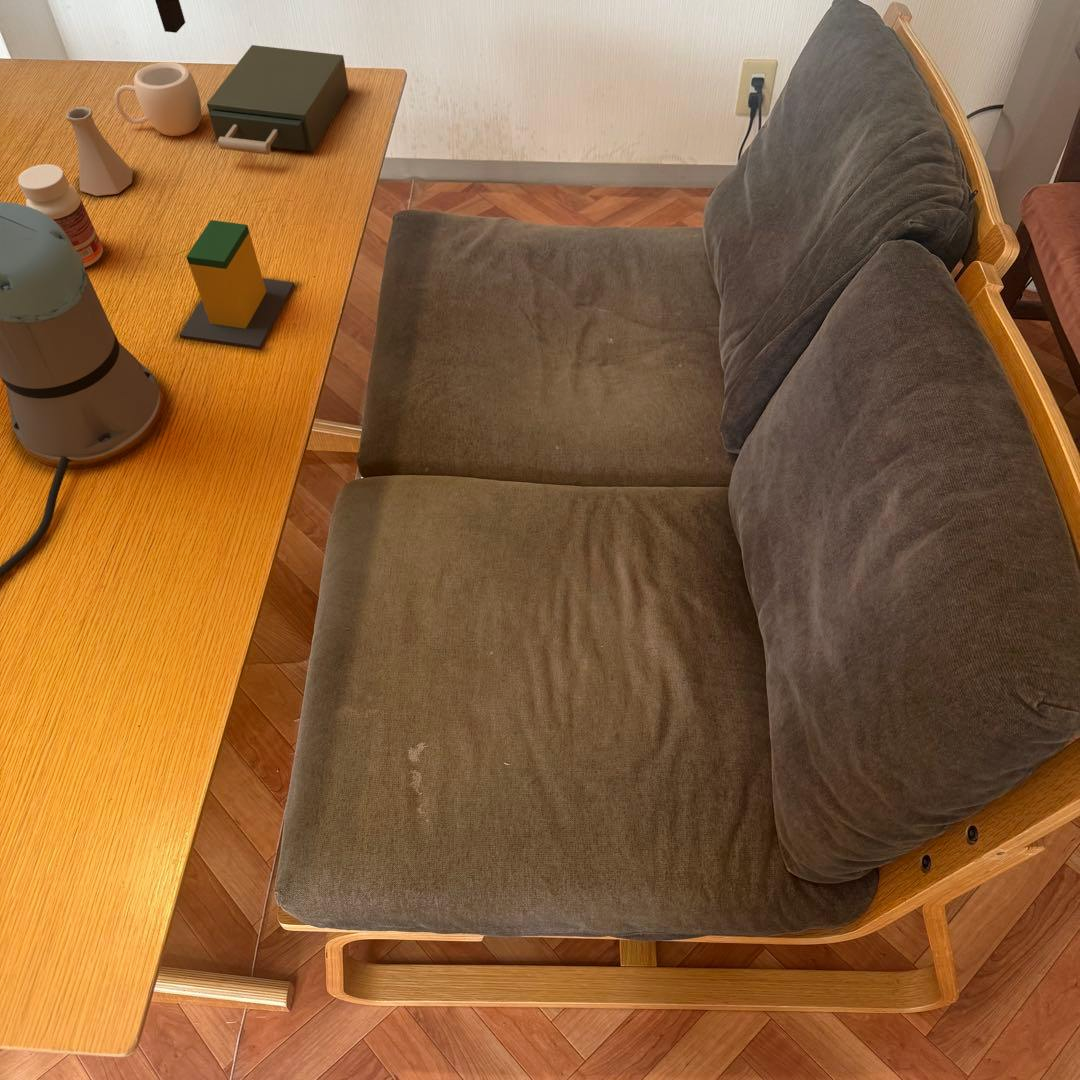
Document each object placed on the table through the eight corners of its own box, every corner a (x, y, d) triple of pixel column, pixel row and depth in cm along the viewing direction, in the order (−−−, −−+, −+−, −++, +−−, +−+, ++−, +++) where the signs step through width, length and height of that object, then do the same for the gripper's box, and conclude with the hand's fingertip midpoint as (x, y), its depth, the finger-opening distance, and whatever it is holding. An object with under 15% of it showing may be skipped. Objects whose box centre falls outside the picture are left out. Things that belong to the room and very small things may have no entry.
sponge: (245, 329, 107) (224, 261, 99) (210, 324, 107) (185, 256, 99) (266, 291, 111) (247, 224, 103) (232, 287, 111) (210, 219, 103)
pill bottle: (109, 241, 117) (74, 160, 108) (97, 271, 113) (59, 190, 104) (61, 241, 116) (22, 161, 107) (47, 271, 113) (6, 190, 104)
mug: (210, 110, 136) (194, 57, 130) (204, 141, 131) (188, 87, 125) (129, 114, 135) (109, 61, 128) (120, 145, 130) (100, 91, 124)
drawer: (292, 170, 125) (286, 145, 122) (201, 159, 127) (193, 133, 124) (339, 92, 138) (335, 67, 135) (257, 83, 139) (251, 58, 136)
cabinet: (312, 152, 130) (304, 115, 125) (217, 140, 131) (206, 103, 127) (349, 91, 140) (343, 54, 135) (260, 81, 141) (251, 44, 137)
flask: (142, 169, 126) (116, 100, 118) (123, 199, 122) (94, 129, 114) (92, 166, 127) (63, 96, 119) (71, 195, 122) (40, 125, 114)
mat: (260, 349, 105) (259, 346, 105) (180, 337, 106) (178, 334, 106) (294, 285, 112) (294, 282, 112) (219, 275, 113) (218, 272, 113)
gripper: (178, -226, 91) (237, 18, 110) (59, -236, 93) (138, 7, 112) (146, -203, 87) (213, 47, 106) (22, -214, 88) (111, 35, 107)
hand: (175, 26), depth 109 cm, fingers closed
